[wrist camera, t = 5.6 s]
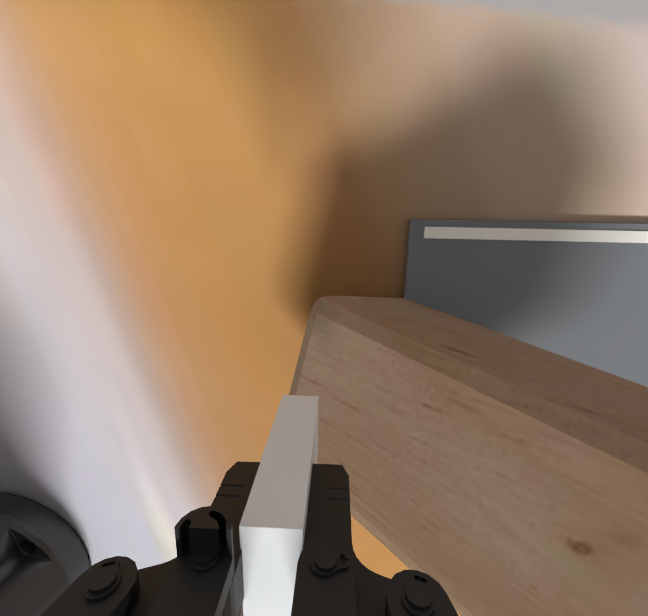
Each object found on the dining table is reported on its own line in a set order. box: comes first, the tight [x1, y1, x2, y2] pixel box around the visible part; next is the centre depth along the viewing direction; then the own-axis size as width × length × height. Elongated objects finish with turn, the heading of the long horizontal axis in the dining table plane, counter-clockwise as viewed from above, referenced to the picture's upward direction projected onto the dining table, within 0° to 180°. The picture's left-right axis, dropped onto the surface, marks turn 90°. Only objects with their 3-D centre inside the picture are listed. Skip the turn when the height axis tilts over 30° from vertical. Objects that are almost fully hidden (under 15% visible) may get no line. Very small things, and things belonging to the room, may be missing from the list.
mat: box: [404, 219, 648, 387], centre depth 26 cm, size 22×17×1 cm
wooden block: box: [289, 295, 648, 616], centre depth 17 cm, size 10×10×20 cm
